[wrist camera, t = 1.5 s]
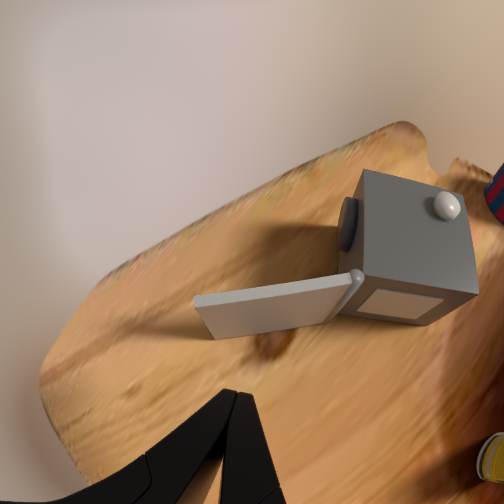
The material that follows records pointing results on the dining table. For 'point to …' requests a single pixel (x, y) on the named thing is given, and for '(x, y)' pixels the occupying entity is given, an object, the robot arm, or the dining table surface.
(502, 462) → the supplement bottle
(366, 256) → the camera body
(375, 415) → the dining table surface
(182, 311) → the dining table surface
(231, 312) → the side door
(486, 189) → the mug
